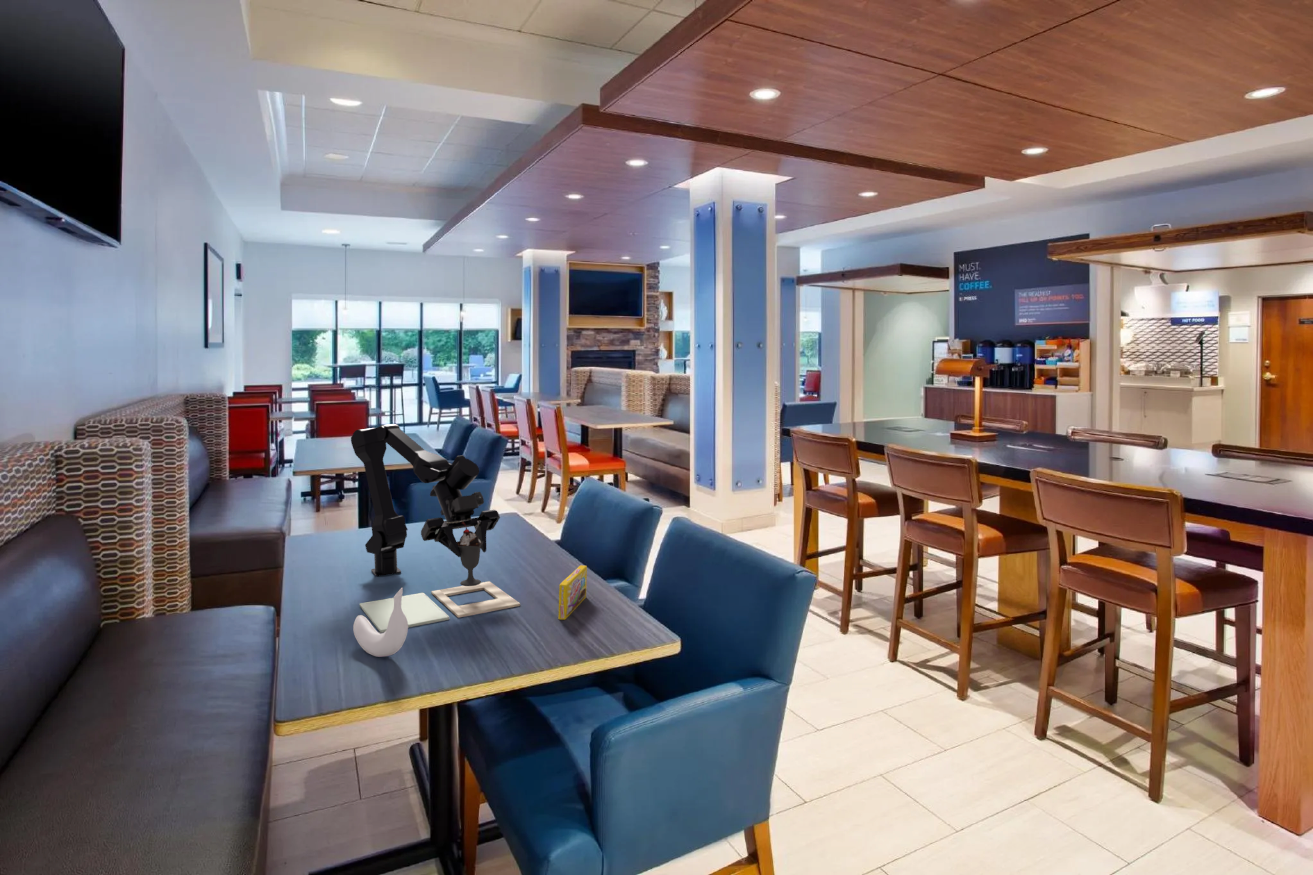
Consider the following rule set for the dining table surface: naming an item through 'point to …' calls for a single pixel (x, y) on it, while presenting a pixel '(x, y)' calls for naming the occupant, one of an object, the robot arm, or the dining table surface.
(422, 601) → the stub pad
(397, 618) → the white curved piece
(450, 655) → the dining table surface
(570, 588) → the candy box
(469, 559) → the sundae
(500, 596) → the wooden picture frame
